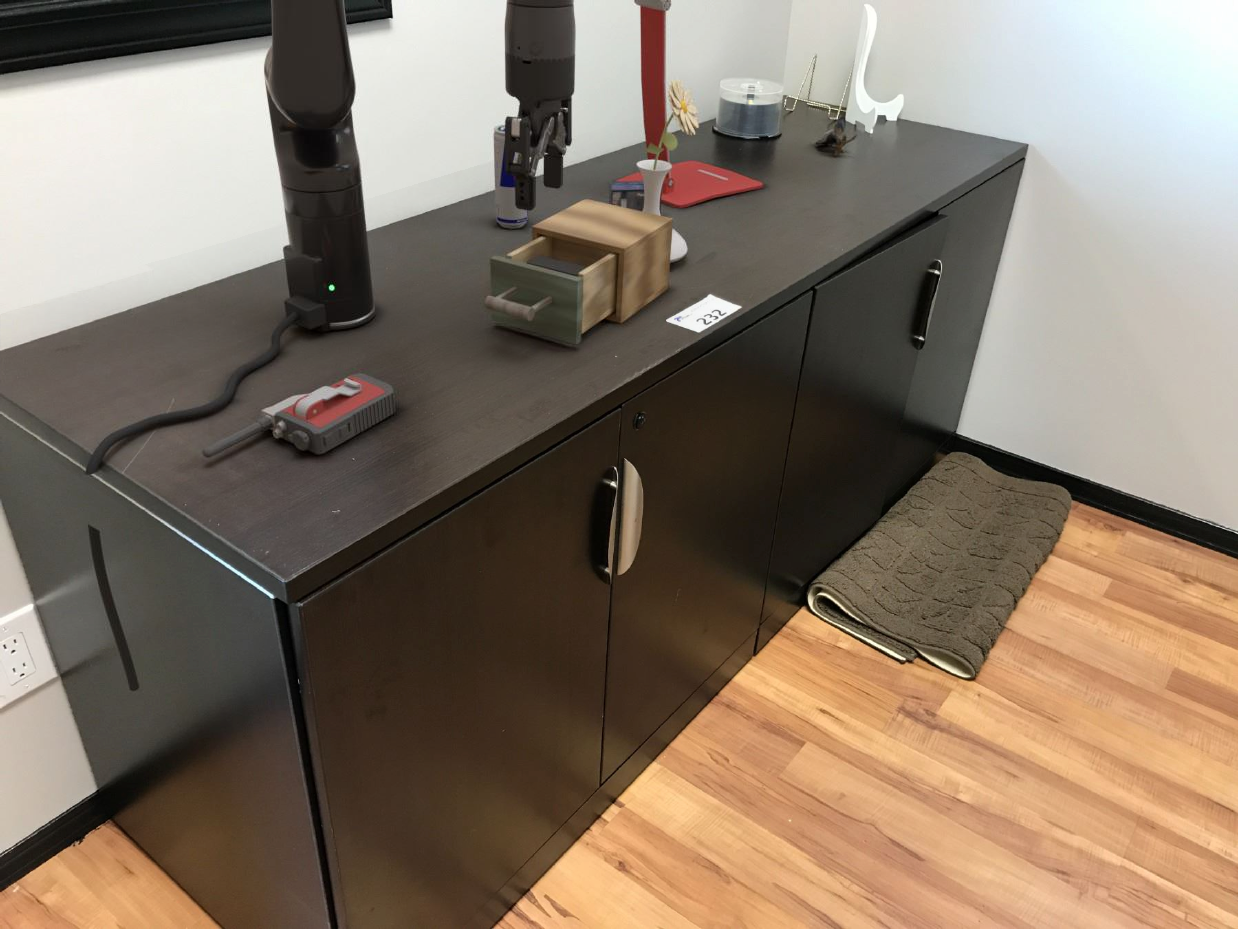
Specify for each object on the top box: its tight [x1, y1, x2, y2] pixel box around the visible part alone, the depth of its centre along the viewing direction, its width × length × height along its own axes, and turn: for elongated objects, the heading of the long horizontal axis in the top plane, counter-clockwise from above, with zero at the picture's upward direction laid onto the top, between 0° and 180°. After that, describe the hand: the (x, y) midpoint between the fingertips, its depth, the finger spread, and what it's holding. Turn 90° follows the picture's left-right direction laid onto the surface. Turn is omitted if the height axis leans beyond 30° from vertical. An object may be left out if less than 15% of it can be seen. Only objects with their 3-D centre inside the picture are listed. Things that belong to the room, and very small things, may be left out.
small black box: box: [526, 255, 587, 277], centre depth 125 cm, size 3×7×6 cm, turn 62°
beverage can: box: [493, 124, 529, 229], centre depth 154 cm, size 5×5×15 cm
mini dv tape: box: [608, 180, 662, 213], centre depth 161 cm, size 8×2×6 cm, turn 101°
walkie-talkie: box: [202, 372, 396, 459], centre depth 102 cm, size 9×4×20 cm
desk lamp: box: [616, 0, 764, 209], centre depth 170 cm, size 18×38×40 cm, turn 133°
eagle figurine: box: [815, 114, 858, 158], centre depth 200 cm, size 8×7×9 cm
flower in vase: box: [636, 78, 700, 264], centre depth 142 cm, size 13×11×25 cm
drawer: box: [484, 235, 619, 346], centre depth 124 cm, size 18×12×8 cm
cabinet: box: [531, 198, 674, 324], centre depth 134 cm, size 14×14×10 cm
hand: (539, 197), depth 116 cm, fingers open, 8 cm apart
